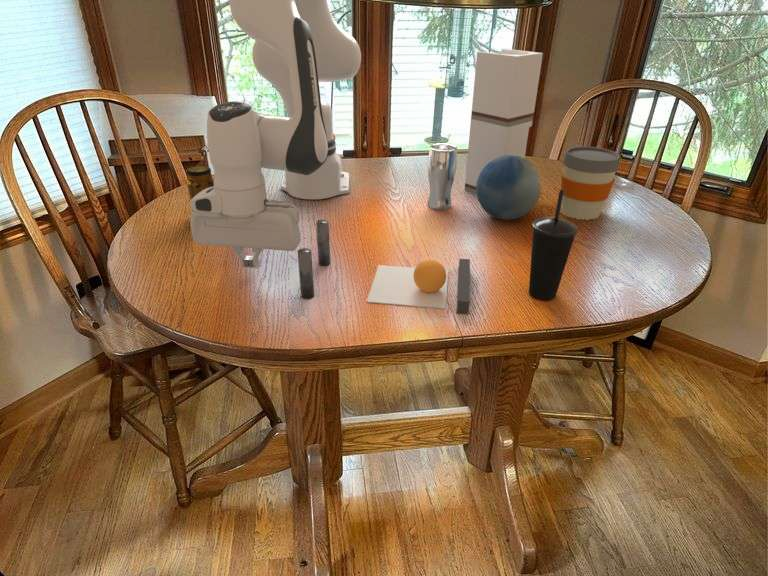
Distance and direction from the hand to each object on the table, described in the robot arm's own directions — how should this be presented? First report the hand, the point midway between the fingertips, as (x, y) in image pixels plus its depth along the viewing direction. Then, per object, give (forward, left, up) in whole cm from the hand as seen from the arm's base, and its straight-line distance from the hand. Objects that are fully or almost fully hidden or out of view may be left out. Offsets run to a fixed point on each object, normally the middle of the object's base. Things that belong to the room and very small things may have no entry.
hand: (250, 266), depth 102 cm
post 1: (+6, +13, -2) cm, 15 cm away
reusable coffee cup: (-43, +69, -2) cm, 82 cm away
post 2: (-7, +13, -2) cm, 15 cm away
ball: (+1, +35, +1) cm, 35 cm away
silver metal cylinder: (-42, +34, -2) cm, 54 cm away
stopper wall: (0, +41, -2) cm, 41 cm away
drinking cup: (-1, +55, -2) cm, 56 cm away
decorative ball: (-37, +50, -2) cm, 63 cm away
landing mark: (0, +31, -2) cm, 31 cm away
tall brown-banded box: (-55, +48, -2) cm, 73 cm away
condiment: (-25, -20, -2) cm, 32 cm away
